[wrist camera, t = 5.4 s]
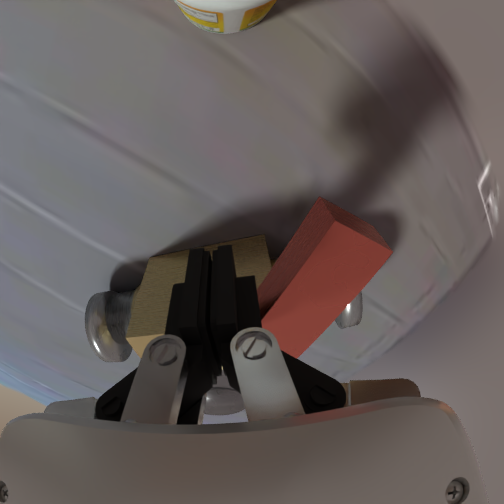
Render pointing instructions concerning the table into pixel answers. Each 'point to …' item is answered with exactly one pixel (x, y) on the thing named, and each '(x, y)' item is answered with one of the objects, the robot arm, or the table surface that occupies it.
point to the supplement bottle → (225, 13)
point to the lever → (310, 285)
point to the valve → (158, 299)
